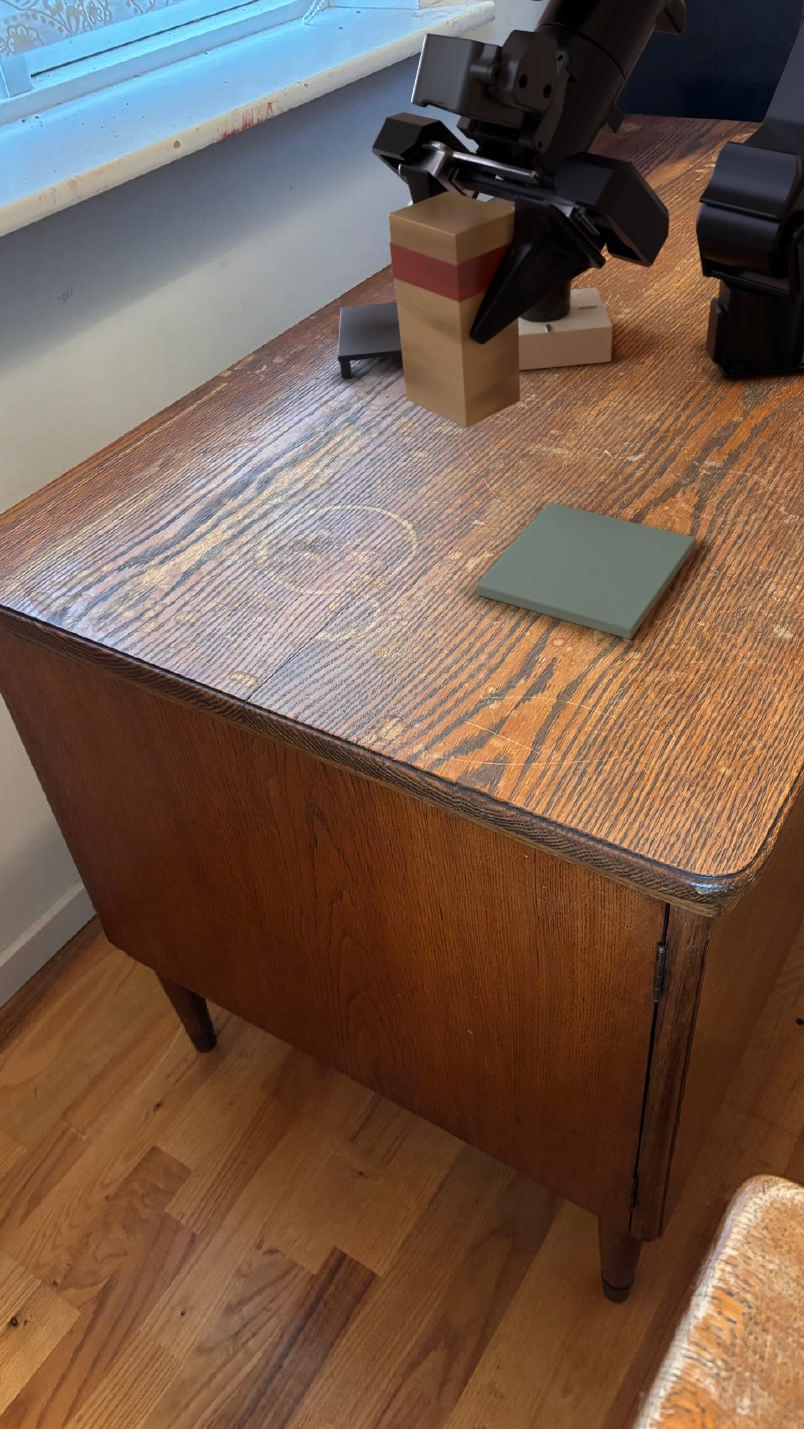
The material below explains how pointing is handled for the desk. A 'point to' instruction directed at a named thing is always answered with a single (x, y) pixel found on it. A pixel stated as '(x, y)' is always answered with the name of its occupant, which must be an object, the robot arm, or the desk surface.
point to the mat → (588, 569)
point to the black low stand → (368, 334)
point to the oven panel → (568, 335)
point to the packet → (452, 306)
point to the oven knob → (551, 306)
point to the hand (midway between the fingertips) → (440, 326)
